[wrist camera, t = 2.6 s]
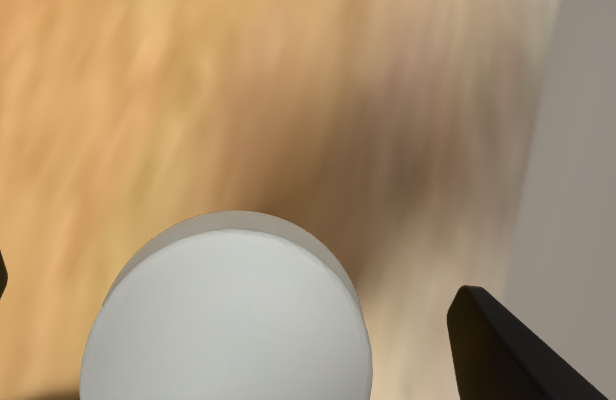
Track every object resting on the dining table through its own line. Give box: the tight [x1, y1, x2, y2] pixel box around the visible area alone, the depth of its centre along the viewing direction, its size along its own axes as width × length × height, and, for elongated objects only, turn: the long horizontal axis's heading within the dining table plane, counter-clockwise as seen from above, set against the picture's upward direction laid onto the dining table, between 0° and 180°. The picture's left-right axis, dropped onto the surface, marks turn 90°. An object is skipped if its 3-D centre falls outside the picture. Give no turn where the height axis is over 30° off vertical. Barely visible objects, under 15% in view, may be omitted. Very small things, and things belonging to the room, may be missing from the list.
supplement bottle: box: [80, 210, 373, 400], centre depth 11 cm, size 5×5×10 cm
